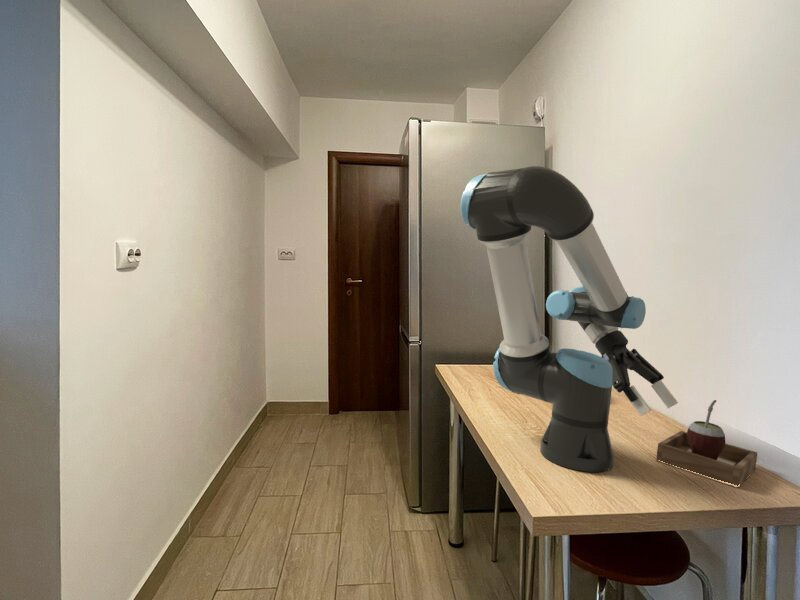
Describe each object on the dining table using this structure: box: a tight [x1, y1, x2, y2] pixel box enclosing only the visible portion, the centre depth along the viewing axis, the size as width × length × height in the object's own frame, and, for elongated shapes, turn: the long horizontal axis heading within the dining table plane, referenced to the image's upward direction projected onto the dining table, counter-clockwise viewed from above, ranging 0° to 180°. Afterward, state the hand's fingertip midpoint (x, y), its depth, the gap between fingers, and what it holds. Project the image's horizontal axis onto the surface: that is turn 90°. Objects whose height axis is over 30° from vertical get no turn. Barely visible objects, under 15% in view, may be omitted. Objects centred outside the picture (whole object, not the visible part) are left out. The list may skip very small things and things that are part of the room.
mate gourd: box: [686, 399, 726, 460], centre depth 98 cm, size 8×8×15 cm
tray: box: [655, 430, 758, 486], centre depth 99 cm, size 15×15×4 cm
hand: (660, 409), depth 107 cm, fingers open, 13 cm apart
